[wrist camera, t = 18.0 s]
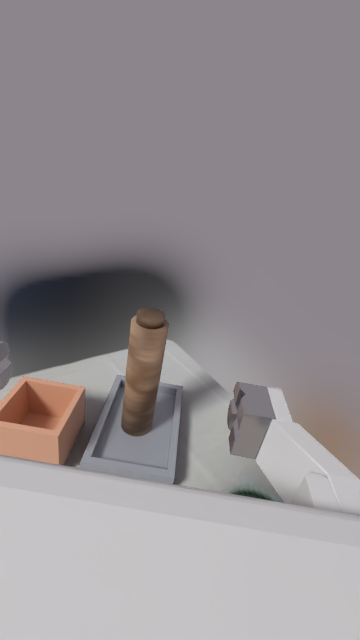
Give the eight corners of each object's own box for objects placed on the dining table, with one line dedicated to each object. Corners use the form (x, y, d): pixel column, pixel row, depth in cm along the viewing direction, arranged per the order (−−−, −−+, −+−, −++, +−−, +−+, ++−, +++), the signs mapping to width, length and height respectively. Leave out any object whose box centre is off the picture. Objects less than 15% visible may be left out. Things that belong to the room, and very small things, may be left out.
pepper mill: (154, 415, 48) (171, 309, 39) (149, 438, 44) (167, 326, 35) (125, 410, 48) (136, 303, 39) (117, 433, 44) (128, 318, 35)
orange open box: (84, 422, 46) (85, 387, 43) (59, 475, 38) (57, 436, 35) (26, 412, 46) (23, 376, 42) (-11, 463, 38) (-19, 423, 34)
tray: (180, 396, 54) (182, 386, 53) (171, 490, 38) (174, 478, 37) (116, 385, 54) (117, 374, 53) (80, 474, 38) (80, 462, 37)
